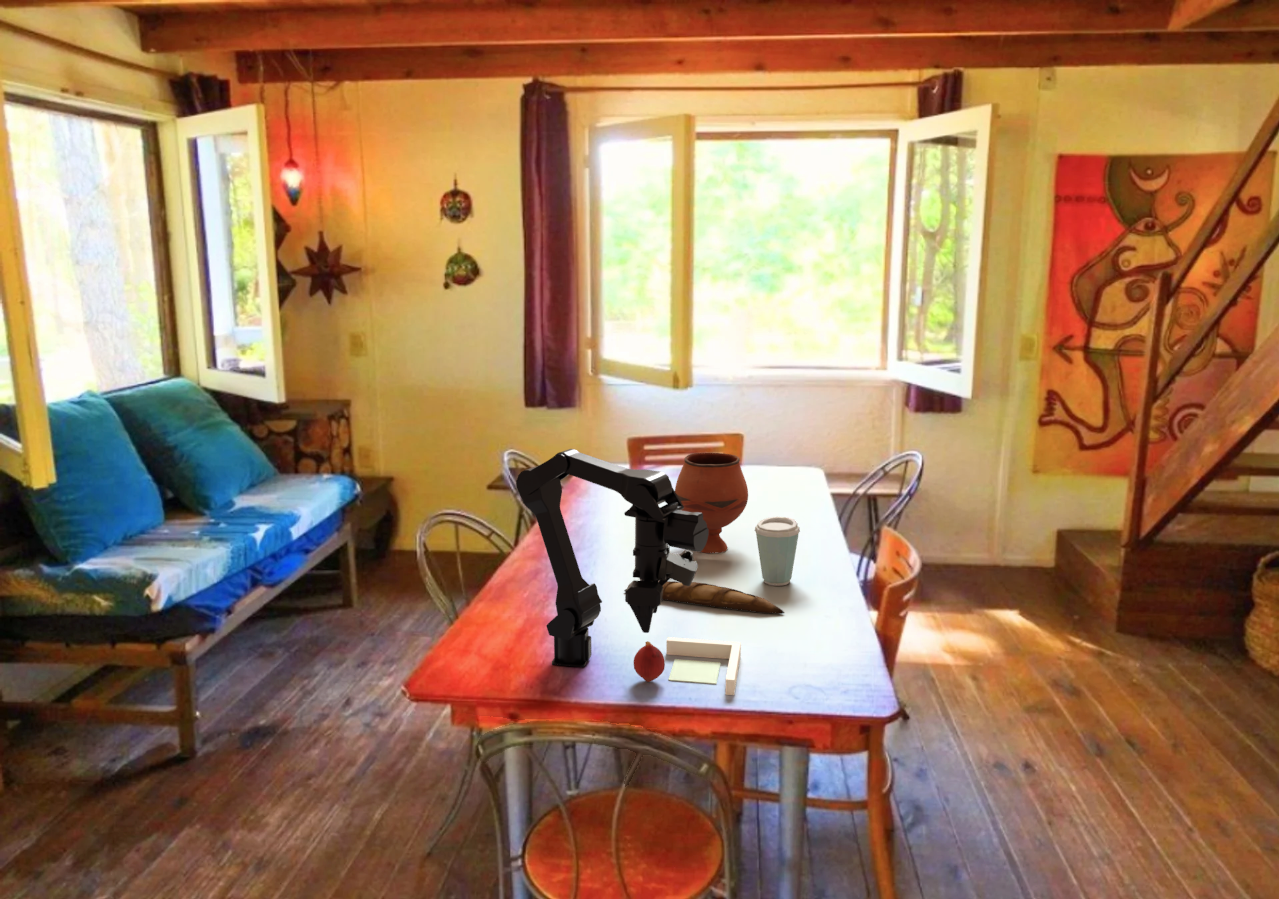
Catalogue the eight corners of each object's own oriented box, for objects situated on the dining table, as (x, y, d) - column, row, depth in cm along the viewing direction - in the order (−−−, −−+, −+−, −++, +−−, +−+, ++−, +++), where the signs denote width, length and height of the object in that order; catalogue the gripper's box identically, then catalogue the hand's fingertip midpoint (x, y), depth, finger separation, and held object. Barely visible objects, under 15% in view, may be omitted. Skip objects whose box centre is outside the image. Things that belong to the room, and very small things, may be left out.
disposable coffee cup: (784, 592, 222) (786, 531, 219) (744, 582, 228) (746, 523, 225) (805, 580, 230) (808, 520, 227) (766, 570, 237) (768, 512, 233)
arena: (654, 688, 175) (654, 673, 174) (667, 651, 191) (667, 637, 190) (734, 695, 172) (734, 680, 172) (740, 656, 188) (740, 642, 188)
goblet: (664, 541, 260) (665, 452, 254) (729, 534, 265) (731, 447, 260) (688, 563, 242) (690, 468, 236) (758, 556, 247) (760, 463, 242)
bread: (620, 597, 220) (619, 577, 219) (627, 590, 225) (627, 570, 224) (782, 620, 207) (782, 598, 206) (786, 612, 212) (787, 590, 210)
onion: (663, 674, 181) (664, 635, 179) (665, 688, 175) (665, 648, 173) (633, 674, 180) (633, 635, 179) (634, 688, 175) (634, 648, 173)
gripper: (689, 561, 162) (687, 646, 165) (700, 528, 180) (698, 606, 183) (624, 557, 163) (624, 642, 167) (642, 525, 181) (641, 602, 185)
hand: (649, 622), depth 175 cm, fingers open, 9 cm apart
